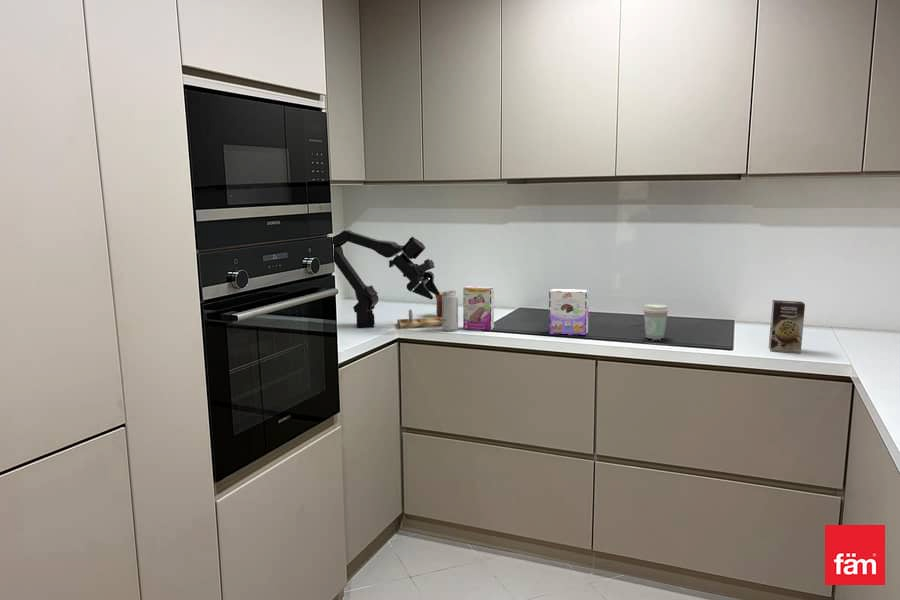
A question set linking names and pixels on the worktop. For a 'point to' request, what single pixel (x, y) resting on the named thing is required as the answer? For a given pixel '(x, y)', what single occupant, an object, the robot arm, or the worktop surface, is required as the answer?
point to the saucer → (410, 316)
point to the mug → (439, 304)
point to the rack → (420, 323)
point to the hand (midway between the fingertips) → (435, 296)
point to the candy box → (568, 311)
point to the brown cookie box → (786, 326)
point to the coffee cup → (655, 320)
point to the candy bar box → (478, 308)
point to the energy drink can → (450, 311)
